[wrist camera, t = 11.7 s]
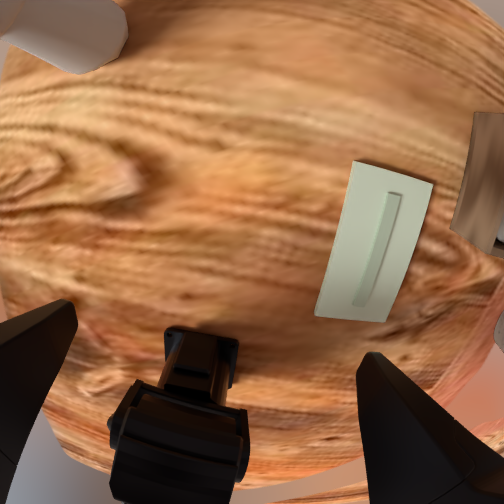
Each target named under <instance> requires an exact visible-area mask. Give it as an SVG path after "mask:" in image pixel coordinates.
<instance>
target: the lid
mask: <svg viewBox="0 0 504 504" xmlns="http://www.w3.org/2000/svg"><path fill="white" fill-rule="evenodd" d="M432 188H433V184H431V183H428V182H425V181H422V180H419V179H416V178H413V177H410V176H407V175H403V174H400V173H397V172H393V171H390V170H387V169H383V168H379V167H376V166H372V165H368V164H365V163H361V162H357V161H353V164H352V169H351V174H350V178H349V183H348V187H347V192H346V196H345V200H344V205H343V209H342V213H341V217H340V221H339V225H338V229H337V233H336V237H335V241H334V244H333V248H332V252H331V255H330V259H329V263H328V266H327V270H326V273H325V276H324V280H323V283H322V287H321V290H320V293H319V297H318V300H317V303H316V306H315V309H314V314H315V316H319V317H328V318H338V319H348V320H359V321H370V322H383V323H385V321H386V319H387V317H388V314H389V312H390V310H391V308H392V305H393V303H394V301H395V298H396V296H397V294H398V291H399V289H400V286H401V284H402V281H403V279H404V276H405V273H406V271H407V268H408V265H409V263H410V260H411V257H412V254H413V251H414V248H415V246H416V243H417V240H418V236H419V233H420V230H421V227H422V224H423V220H424V217H425V214H426V210H427V207H428V203H429V199H430V195H431V192H432Z"/></svg>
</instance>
